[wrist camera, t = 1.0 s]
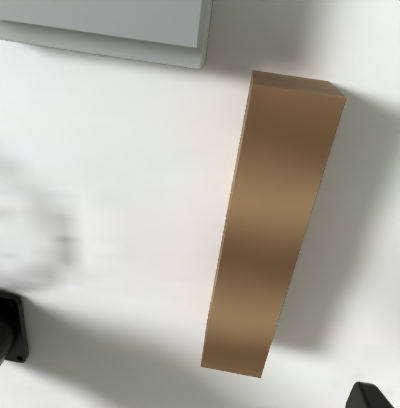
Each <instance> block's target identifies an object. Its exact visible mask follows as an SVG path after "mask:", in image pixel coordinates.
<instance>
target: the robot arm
mask: <svg viewBox="0 0 400 408" xmlns="http://www.w3.org/2000/svg"><path fill="white" fill-rule="evenodd" d="M28 356H29V354H28V347H27V340H26V333H25V326H24V318H23V311H22V304H21V300H20V298H19V297H17V296H16V295H12V294H7V293H1V292H0V365H1V364H2V363H3V361H4V360H9V361H15V362H20V363H23V362H25V361H26V360H27V358H28ZM345 408H394V407H393V406H392V405H391V403H390V402H389V401H388V400H387V399H386V397H385V396H384V395H383V394H382V392H381V391H380V390H379V389H378V387H376V386H375V385H374V384H371V383H364V382H356V383H355V384H354V386H353V388H352V390H351V393H350V395H349V397H348V400H347V402H346V406H345Z"/></svg>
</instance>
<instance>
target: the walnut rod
mask: <svg viewBox="0 0 400 408" xmlns="http://www.w3.org/2000/svg"><path fill="white" fill-rule="evenodd" d="M345 100H346V98H345V97H344V96H343V95H342V94H341V93H340V92H339V91H338V90H337V89H336V88H335V87H334V86H332V85H331V84H330V83H329V82H328V81H322V80H315V79H308V78H301V77H295V76H288V75H281V74H274V73H268V72H261V71H254V70H253V72H252V77H251V83H250V88H249V94H248V99H247V105H246V110H245V116H244V121H243V127H242V132H241V138H240V143H239V149H238V154H237V160H236V165H235V171H234V176H233V182H232V187H231V193H230V198H229V204H228V209H227V215H226V220H225V226H224V231H223V237H222V242H221V248H220V253H219V259H218V265H217V270H216V276H215V281H214V287H213V292H212V298H211V303H210V309H209V314H208V320H207V327H206V333H205V340H204V347H203V354H202V361H201V367H205V368H211V369H216V370H221V371H226V372H231V373H237V374H242V375H247V376H252V377H258V378H261V375H262V372H263V368H264V365H265V362H266V359H267V355H268V352H269V349H270V345H271V342H272V339H273V336H274V332H275V329H276V326H277V323H278V319H279V316H280V313H281V310H282V306H283V303H284V300H285V296H286V293H287V290H288V287H289V283H290V280H291V277H292V274H293V270H294V267H295V264H296V261H297V257H298V254H299V251H300V247H301V244H302V241H303V238H304V234H305V231H306V228H307V225H308V221H309V218H310V215H311V211H312V208H313V205H314V202H315V198H316V195H317V192H318V189H319V185H320V182H321V179H322V176H323V172H324V169H325V166H326V162H327V159H328V156H329V153H330V149H331V146H332V143H333V140H334V136H335V133H336V130H337V127H338V123H339V120H340V117H341V113H342V110H343V107H344V104H345Z"/></svg>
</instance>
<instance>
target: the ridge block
mask: <svg viewBox="0 0 400 408" xmlns="http://www.w3.org/2000/svg"><path fill="white" fill-rule="evenodd" d="M212 2H213V0H0V40H6V41H13V42H20V43H26V44H33V45H40V46H46V47H53V48H60V49H67V50H73V51H80V52H87V53H93V54H100V55H107V56H114V57H120V58H127V59H134V60H140V61H147V62H154V63H161V64H167V65H174V66H181V67H187V68H194V69H201V67H202V66H203V65H204V64H205V60H206V52H207V43H208V35H209V27H210V19H211V11H212Z"/></svg>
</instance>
